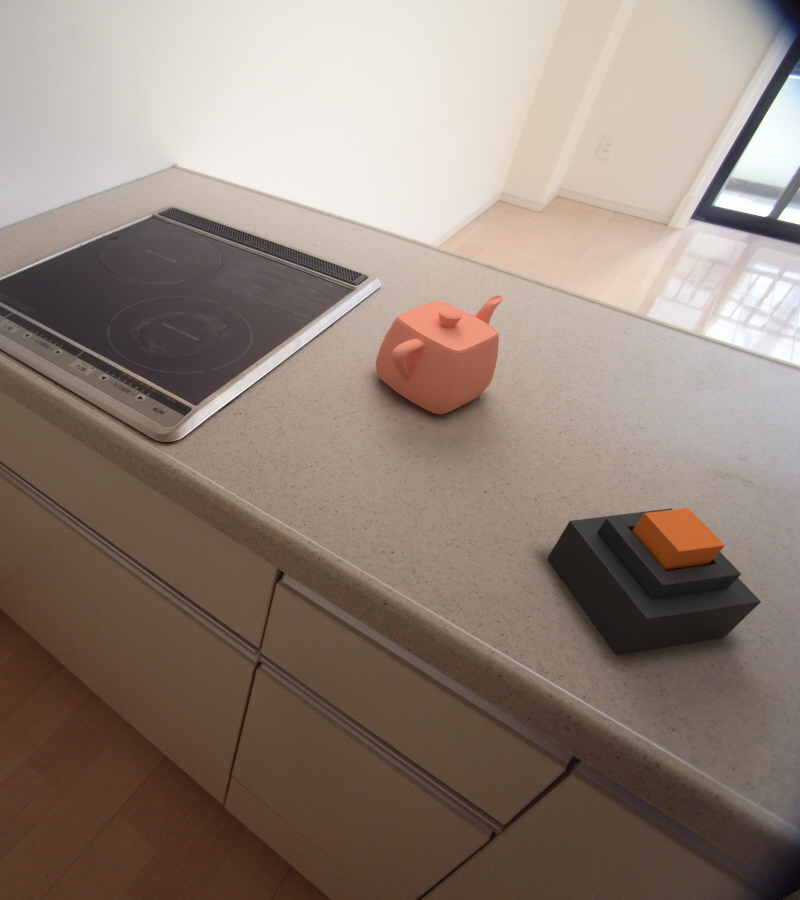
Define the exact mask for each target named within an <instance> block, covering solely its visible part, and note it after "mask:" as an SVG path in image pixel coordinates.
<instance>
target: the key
mask: <svg viewBox="0 0 800 900" xmlns="http://www.w3.org/2000/svg"><path fill="white" fill-rule="evenodd" d="M632 533H633V534H634V535H635V536H636V537H637V538H638V539H639V541H640V542H641V543H642V544H643V545H644V546H645V548H646V549H647V550H648V551H649V552H650V553H651V554H652V556H653V557H654V558H655V559H656V560H657V561H658V563H659V564H660V565H661V566H662V567H663V568H664V569H665V570H670V569H678V568H685V567H692V566H700V565H707V564H709V563H710V562H711V561H712V560H713V559H714V558H715V557H716V556H717V554H718V553H719V552H721V551H722V550H724V548H725V546H726V545H725V544H724V543H723V542H722V540H720V538H718V536H717V535H716V534H715V533H714V532H713V531H711V529H710V528H709V527H708V526H707V525H706V524H705V523H704V522H703V521H702V520H701V519H700V518H699V517H698V516H697V515H696V514H695V513H694V512H693V511H692V510H691V509H690V507H684V508H675V509H673V510H667V511H659V512H651V513H645V514H644V515H643V516H642V518H641V519H640V521H639V522H638V523H637V525H636V526H635V528H634V529H633V530H632Z"/></svg>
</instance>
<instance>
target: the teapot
mask: <svg viewBox="0 0 800 900" xmlns="http://www.w3.org/2000/svg"><path fill="white" fill-rule="evenodd" d="M503 300H504V297H503V295H494V296H492V297H490V298H489V299H487V300H486V301H485V303H483V304H482V306H481V307H480V308H479V310H478V311H477V312H476V313H475V315H473V314H470V313H469V312H468V311H465V310H463V309H461V308H458V307H456V306H455V305H452V304H450V303H447V302H445V301H441V300H433V301H429V302H427V303H424V304H421V305H418V306H416V307H413V308H411V309H409V310H407V311H404V312H402V313H400V314H399V315H397V316H396V317H395V318H394V320H393V322H392V323H391V325H390V327H389V328H388V330H387V332H386V334H385V336H384V338H383V340H382V342H381V343H380V347H379V350H378V352H377V355H376V359H375V369H376V374H377V376H378V378H379V379H380V380H381V381H382V382H384V383H385V384H386V385H387V386H389V388H391V389H392V390H393V391H394V392H395V393H398V394H399V395H400V396H402V397H403V398H405V399H407V400H408V401H410V402H412V403H413V404H415V405H417V406H419V407H420V408H422V409H424V410H426V411H428V412H430V413H432V414H435V415H436V414H437V415H443V414H444V415H445V414H447V413H449V412H451V411H454V410H457V409H458V408H460V407H462V406H464V405H466V404H467V403H469V402H471V401H473V400H475V399H477V398H478V397H479V396H480V395H482V394H483V393H484V392H485V391H486V390H487V388H488V387H489V386H490V384H491V382H492V380H493V378H494V374H495V370H496V366H497V361H498V354H499V344H500V343H499V342H500V333H499V332H498V330H497V329H495V328H494V327H493V326H491V325H490V322H491V318H492V316H493V314H494V312H495V310H496V309H497V307H498V306H499V305H500V304H501V303H502V301H503Z"/></svg>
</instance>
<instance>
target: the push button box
mask: <svg viewBox="0 0 800 900" xmlns="http://www.w3.org/2000/svg"><path fill="white" fill-rule="evenodd" d="M667 510H674V509H673V508H671V507H670V508H665V509H664V508H662V509H656V510H655V509H654V510H647V511H637V512H631V513H623V514H614V515H605V516H598V517H590V518H589V517H588V518H581V519H573V520H569V521H568V523H567V525H566V526H565V528H564V530H563V532H562V533H561V535H560V536H559V538H558V540H557V541H556V543H555V544H554V546H553V547H552V550H551V551H550V553H549V554H548V556H547V560H548V561H549V563H550V564H551V566H552V567H553V568H554V570H555V572H556V573H557V574H558V575H559V577H560V578H561V580H562V581H563V583H564V584H565V585H566V587H567V588H568V590H569V591H570V592H571V594H572V595H573V596H574V598H575V599H576V601H577V602H578V603H579V605H580V606H581V608H582V609H583V610H584V612H585V614H586V615H587V616H588V618H589V619H590V620H591V622H592V623H593V624H594V626H595V627H596V629H597V630H598V631H599V633H600V634H601V636H602V637H603V639H604V640H605V642H606V644H608V646H609V647H610V648H611V650H612V651H613V653H614V654H615V655H618V656H619V655H623V654H630V653H636V652H642V651H650V650H656V649H660V648H661V649H662V648H668V647H675V646H681V645H688V644H694V643H701V642H707V641H713V640H720V639H725V638H726V637H727V635H728V634H729V633H731V632H732V631H733V630H734V629H735V627H737V626H738V625H739V624H740V623H741V622H742V621H743V620H744V619H745V618H747V616H748V615H749V614H750V613H751V612H753V611H754V610H755V609H756V608H757V607H758V606H759V605H760V604H761V603H762V601H761V599H759V597H757V596H756V594H755V593H753V592H752V590H751V589H749V587H748V586H747V585H746V584H745V583H744V582H743V581H742V580H741V578H739V577H741V575H742V573H741V571H740V570H738V569H737V567H735V565H734V564H733V563H731V561H730V560H729V559H728V558H727V557H726V556H725V555H724V554H723V553H722V552H721V551H720V552H719V553H718V554H717V556H716V557H715V558H714V559H713V560H712V561H711V562H710V563H709V564H707V565H700V566H692V567H685V568H678V569H670V570H665V569H664V568H663V567H662V566H661V565H660V564H659V563H658V561H657V560H656V559H655V558H654V557H653V556H652V554H651V553H650V552H649V551H648V550H647V549H646V548H645V546H644V545H643V544H642V543H641V542H640V541H639V539H638V538H637V537H636V536H635V535H634V534H633V533H632V530H633V529H634V528H635V526H636V525H637V523H638V522H639V521H640V519H641V518H642V516H643V515H644V514H645V513H651V512H659V511H667Z"/></svg>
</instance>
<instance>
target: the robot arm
mask: <svg viewBox="0 0 800 900" xmlns="http://www.w3.org/2000/svg"><path fill="white" fill-rule="evenodd" d="M782 900H800V888H799V889H798V890H796V891H794V892H792V893H790V894H789V895H787V896H786V897H784V898H783V899H782Z"/></svg>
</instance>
